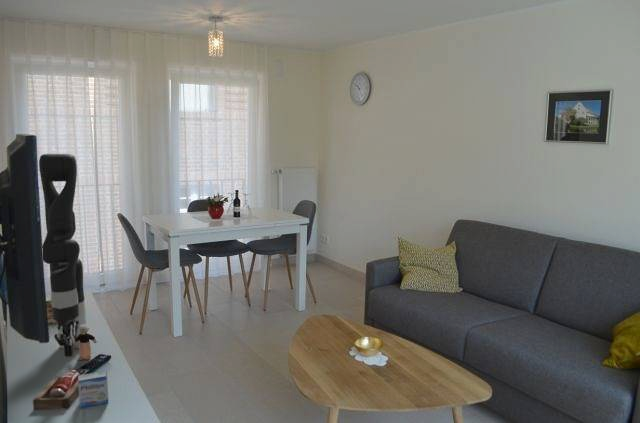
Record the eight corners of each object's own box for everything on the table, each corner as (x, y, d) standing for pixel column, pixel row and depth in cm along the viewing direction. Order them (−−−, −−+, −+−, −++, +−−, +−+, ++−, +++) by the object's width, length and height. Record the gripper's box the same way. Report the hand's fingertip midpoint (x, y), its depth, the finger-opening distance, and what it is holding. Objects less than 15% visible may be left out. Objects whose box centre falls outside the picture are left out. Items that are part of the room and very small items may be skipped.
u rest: (56, 385, 165) (55, 376, 164) (87, 384, 165) (86, 375, 165) (33, 409, 150) (32, 400, 150) (68, 408, 151) (67, 399, 150)
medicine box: (79, 409, 151) (77, 381, 149) (80, 401, 155) (78, 374, 153) (108, 403, 154) (106, 376, 152) (108, 396, 158) (106, 369, 156)
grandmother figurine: (74, 362, 181) (71, 327, 179) (74, 357, 184) (72, 324, 182) (97, 358, 184) (95, 324, 182) (98, 354, 187) (95, 321, 185)
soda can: (77, 387, 165) (61, 407, 153) (61, 381, 164) (44, 401, 153) (83, 373, 164) (68, 392, 153) (67, 367, 164) (51, 385, 152)
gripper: (61, 296, 166) (66, 347, 169) (42, 310, 153) (47, 365, 156) (85, 296, 167) (89, 346, 170) (68, 310, 154) (72, 364, 156)
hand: (69, 355), depth 163 cm, fingers closed
